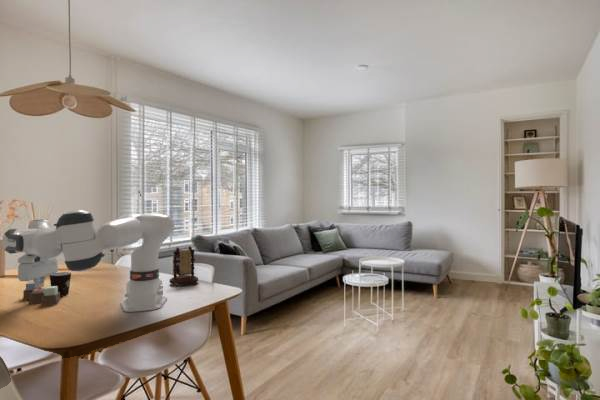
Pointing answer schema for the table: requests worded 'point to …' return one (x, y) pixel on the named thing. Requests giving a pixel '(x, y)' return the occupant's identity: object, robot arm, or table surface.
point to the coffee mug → (61, 282)
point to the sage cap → (50, 290)
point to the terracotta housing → (36, 297)
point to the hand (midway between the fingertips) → (39, 287)
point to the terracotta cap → (38, 291)
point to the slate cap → (30, 286)
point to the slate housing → (28, 293)
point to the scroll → (184, 267)
